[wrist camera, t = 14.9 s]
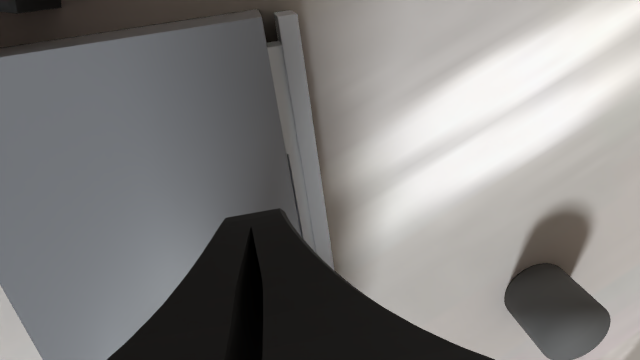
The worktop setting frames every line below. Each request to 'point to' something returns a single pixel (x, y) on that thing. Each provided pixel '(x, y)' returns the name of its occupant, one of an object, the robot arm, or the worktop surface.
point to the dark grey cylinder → (556, 312)
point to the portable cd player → (28, 5)
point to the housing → (129, 170)
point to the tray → (299, 133)
